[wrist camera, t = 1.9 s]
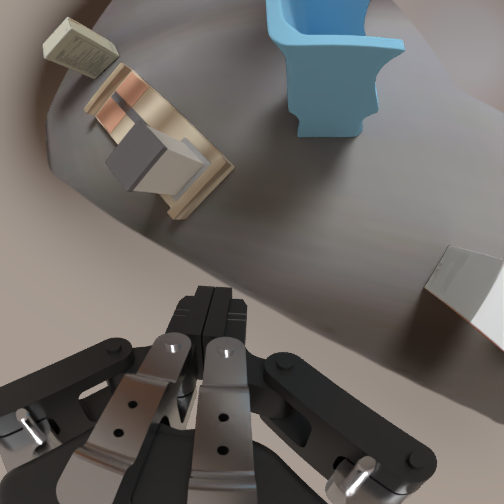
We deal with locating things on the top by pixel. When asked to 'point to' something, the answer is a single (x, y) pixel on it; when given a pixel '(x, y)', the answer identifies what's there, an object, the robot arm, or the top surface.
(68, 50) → the skincare box
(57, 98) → the top surface
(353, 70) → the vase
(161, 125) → the fader track
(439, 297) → the small box
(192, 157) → the fader knob
